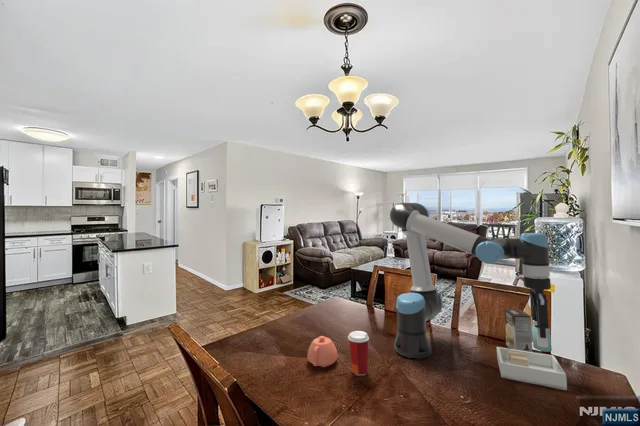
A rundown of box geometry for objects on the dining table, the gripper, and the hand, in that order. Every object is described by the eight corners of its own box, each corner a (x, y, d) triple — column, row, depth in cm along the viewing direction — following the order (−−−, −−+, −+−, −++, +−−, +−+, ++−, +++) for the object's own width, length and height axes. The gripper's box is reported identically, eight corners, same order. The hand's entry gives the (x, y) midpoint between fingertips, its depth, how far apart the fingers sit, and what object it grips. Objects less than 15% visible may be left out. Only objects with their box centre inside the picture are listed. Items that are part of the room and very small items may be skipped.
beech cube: (529, 374, 95) (528, 360, 95) (511, 371, 97) (511, 357, 97) (526, 367, 99) (525, 353, 100) (509, 364, 102) (508, 351, 102)
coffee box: (505, 345, 119) (503, 308, 119) (521, 346, 118) (519, 308, 118) (516, 355, 110) (513, 315, 110) (534, 356, 109) (531, 315, 109)
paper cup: (371, 368, 104) (370, 331, 104) (368, 379, 97) (366, 339, 97) (351, 365, 107) (350, 329, 107) (347, 376, 99) (345, 337, 100)
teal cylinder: (535, 350, 94) (533, 329, 95) (531, 344, 99) (530, 324, 99) (553, 352, 92) (551, 331, 92) (549, 346, 96) (547, 326, 97)
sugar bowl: (342, 358, 113) (341, 333, 113) (329, 375, 100) (328, 347, 101) (315, 353, 118) (315, 329, 118) (300, 369, 105) (299, 342, 106)
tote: (501, 377, 95) (500, 363, 95) (497, 359, 107) (496, 346, 107) (567, 390, 87) (566, 374, 87) (554, 369, 99) (553, 355, 99)
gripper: (557, 282, 87) (562, 356, 86) (543, 272, 103) (547, 335, 102) (528, 281, 90) (533, 352, 89) (518, 271, 106) (522, 332, 105)
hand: (540, 343), depth 96 cm, fingers closed on teal cylinder, 5 cm apart
